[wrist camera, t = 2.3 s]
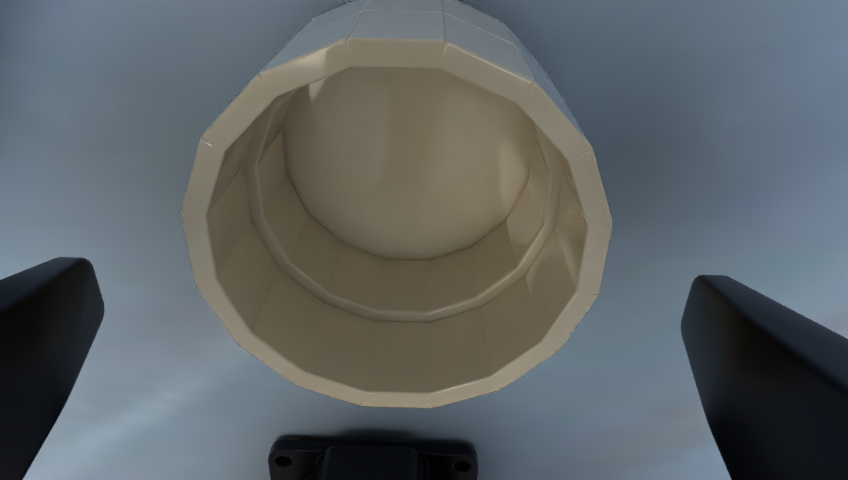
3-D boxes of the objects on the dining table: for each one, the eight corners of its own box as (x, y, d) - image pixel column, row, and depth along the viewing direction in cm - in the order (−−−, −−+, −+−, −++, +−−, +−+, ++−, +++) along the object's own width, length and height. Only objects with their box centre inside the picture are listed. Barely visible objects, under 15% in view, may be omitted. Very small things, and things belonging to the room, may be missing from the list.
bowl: (537, 270, 16) (576, 414, 11) (277, 263, 16) (217, 403, 12) (574, -8, 12) (649, 45, 8) (244, -16, 12) (142, 32, 8)
